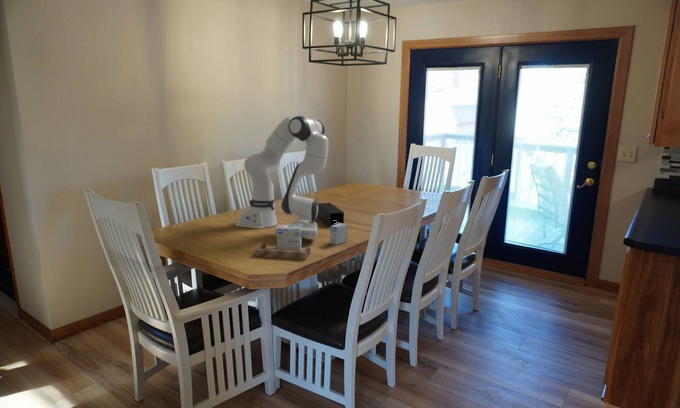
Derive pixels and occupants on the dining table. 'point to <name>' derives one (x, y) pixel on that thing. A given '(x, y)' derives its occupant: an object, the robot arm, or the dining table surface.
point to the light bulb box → (289, 237)
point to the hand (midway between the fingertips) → (291, 236)
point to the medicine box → (338, 233)
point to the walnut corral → (282, 253)
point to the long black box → (330, 214)
